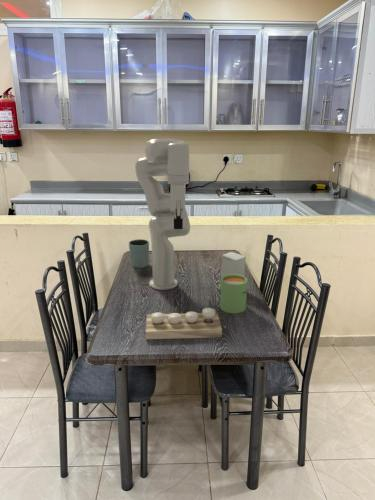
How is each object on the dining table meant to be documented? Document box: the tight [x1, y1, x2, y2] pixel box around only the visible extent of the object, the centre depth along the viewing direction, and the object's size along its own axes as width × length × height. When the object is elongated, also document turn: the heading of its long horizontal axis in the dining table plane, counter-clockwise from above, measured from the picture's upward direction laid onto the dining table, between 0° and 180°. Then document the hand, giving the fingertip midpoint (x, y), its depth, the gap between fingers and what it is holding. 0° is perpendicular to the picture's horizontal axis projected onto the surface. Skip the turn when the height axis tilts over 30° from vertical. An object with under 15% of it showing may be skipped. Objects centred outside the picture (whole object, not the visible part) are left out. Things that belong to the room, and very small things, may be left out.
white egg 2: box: [184, 311, 199, 324], centre depth 140 cm, size 4×4×5 cm
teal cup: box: [128, 239, 150, 269], centre depth 198 cm, size 10×10×12 cm
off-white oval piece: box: [151, 311, 165, 325], centre depth 139 cm, size 4×4×5 cm
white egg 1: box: [168, 312, 181, 324], centre depth 140 cm, size 4×4×5 cm
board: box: [145, 312, 223, 340], centre depth 141 cm, size 12×26×3 cm, turn 93°
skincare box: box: [219, 251, 246, 289], centre depth 171 cm, size 8×7×16 cm
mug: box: [219, 274, 248, 314], centre depth 156 cm, size 13×10×12 cm
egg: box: [201, 307, 216, 323], centre depth 140 cm, size 4×4×5 cm
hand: (178, 228), depth 146 cm, fingers closed
